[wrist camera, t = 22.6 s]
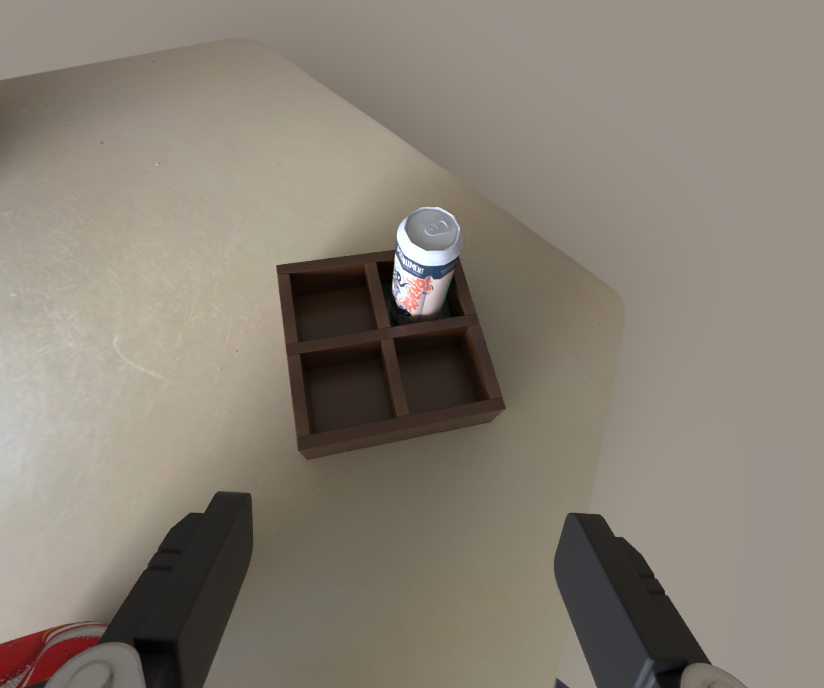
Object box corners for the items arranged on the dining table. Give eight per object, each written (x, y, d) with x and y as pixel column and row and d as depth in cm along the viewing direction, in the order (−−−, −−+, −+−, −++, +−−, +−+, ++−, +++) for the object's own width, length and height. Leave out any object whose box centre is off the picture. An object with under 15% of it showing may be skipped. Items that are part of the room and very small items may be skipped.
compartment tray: (491, 421, 38) (506, 408, 34) (306, 460, 35) (298, 450, 31) (446, 268, 44) (454, 241, 40) (285, 291, 41) (275, 264, 37)
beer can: (382, 296, 41) (387, 210, 30) (428, 282, 42) (449, 194, 31) (401, 339, 39) (413, 265, 28) (448, 323, 40) (478, 246, 29)
